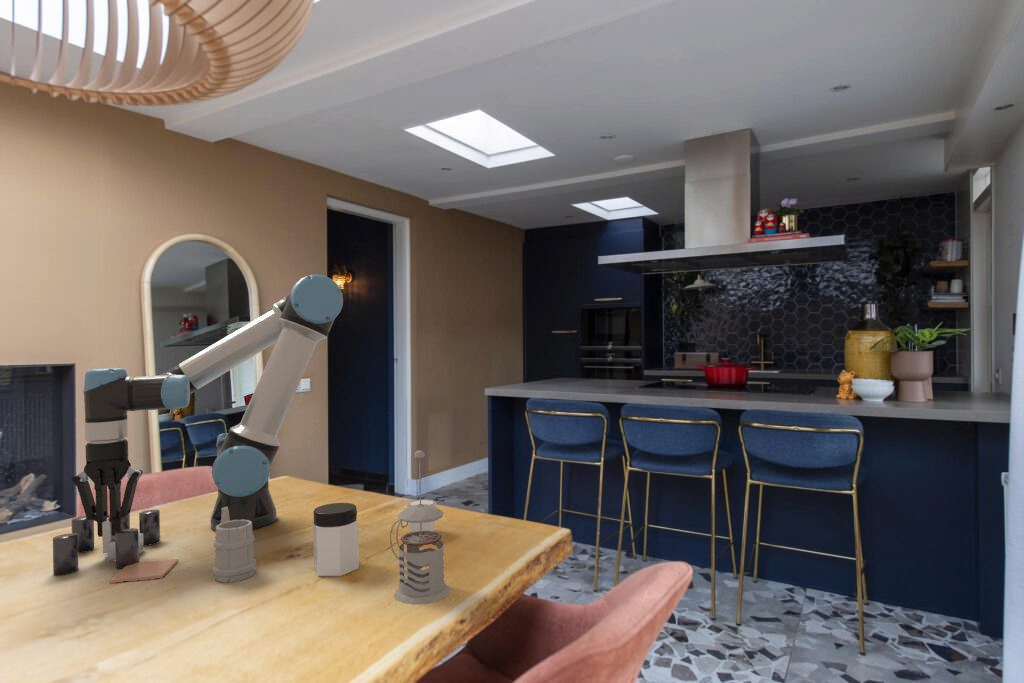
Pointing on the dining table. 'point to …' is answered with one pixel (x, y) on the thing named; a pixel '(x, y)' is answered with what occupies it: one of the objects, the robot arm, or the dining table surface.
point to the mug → (233, 549)
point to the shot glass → (425, 526)
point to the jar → (335, 539)
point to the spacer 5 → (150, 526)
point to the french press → (420, 555)
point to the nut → (112, 547)
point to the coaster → (144, 571)
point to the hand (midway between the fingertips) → (109, 550)
